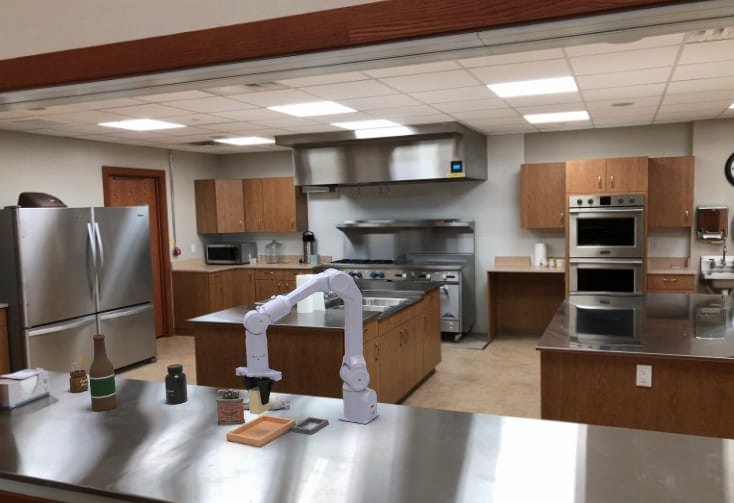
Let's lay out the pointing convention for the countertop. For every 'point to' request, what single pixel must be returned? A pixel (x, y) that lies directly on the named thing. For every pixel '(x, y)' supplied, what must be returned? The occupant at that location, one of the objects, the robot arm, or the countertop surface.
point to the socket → (311, 431)
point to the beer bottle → (102, 378)
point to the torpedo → (272, 404)
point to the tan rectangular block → (257, 402)
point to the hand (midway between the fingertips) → (260, 403)
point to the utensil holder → (78, 379)
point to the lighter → (230, 408)
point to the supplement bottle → (175, 384)
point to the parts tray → (260, 430)
